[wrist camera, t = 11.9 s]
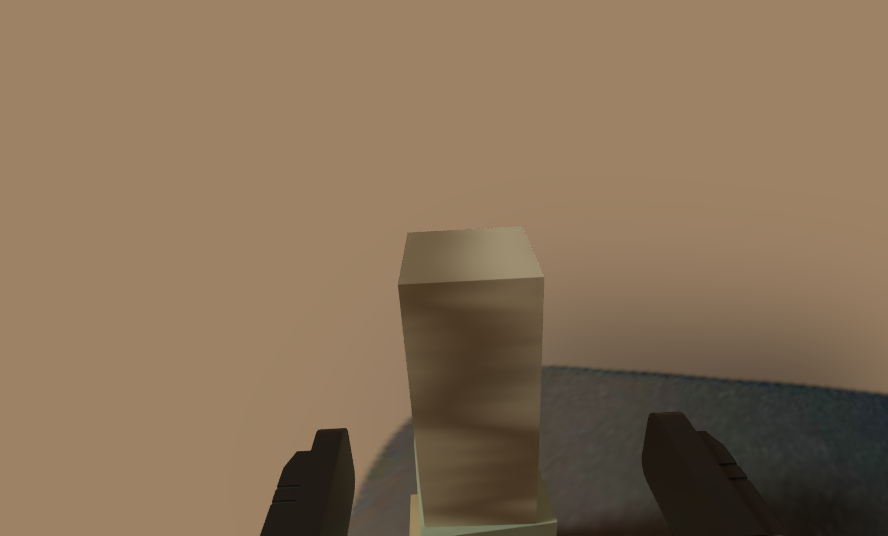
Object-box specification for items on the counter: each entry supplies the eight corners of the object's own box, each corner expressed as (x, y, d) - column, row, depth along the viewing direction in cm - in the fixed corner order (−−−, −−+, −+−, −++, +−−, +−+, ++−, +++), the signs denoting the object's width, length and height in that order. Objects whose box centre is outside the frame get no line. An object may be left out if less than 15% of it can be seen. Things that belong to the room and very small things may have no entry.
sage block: (520, 496, 27) (522, 425, 25) (551, 599, 22) (557, 522, 20) (420, 508, 26) (413, 438, 24) (428, 617, 21) (421, 539, 19)
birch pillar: (520, 440, 24) (522, 226, 19) (536, 522, 20) (544, 276, 15) (427, 444, 24) (407, 232, 19) (424, 527, 20) (397, 284, 15)
